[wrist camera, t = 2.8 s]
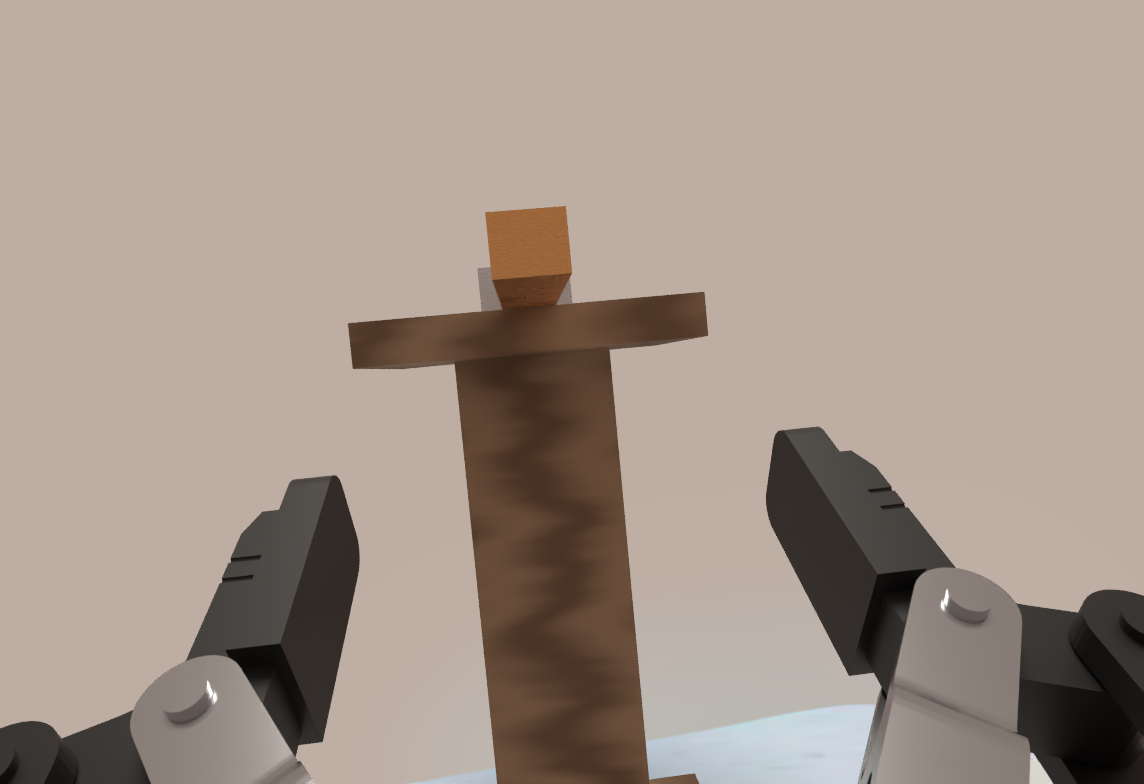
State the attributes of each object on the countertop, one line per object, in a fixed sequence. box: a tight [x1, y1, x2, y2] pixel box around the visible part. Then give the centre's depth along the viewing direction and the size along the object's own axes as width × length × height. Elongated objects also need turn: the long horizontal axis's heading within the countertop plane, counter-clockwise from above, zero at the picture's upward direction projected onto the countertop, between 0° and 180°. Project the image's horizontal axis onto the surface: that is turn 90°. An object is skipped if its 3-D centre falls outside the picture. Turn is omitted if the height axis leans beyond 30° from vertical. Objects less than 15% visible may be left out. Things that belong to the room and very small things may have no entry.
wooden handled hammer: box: [478, 206, 572, 312], centre depth 31 cm, size 5×22×3 cm, turn 4°
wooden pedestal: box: [348, 292, 708, 784], centre depth 37 cm, size 16×12×32 cm
